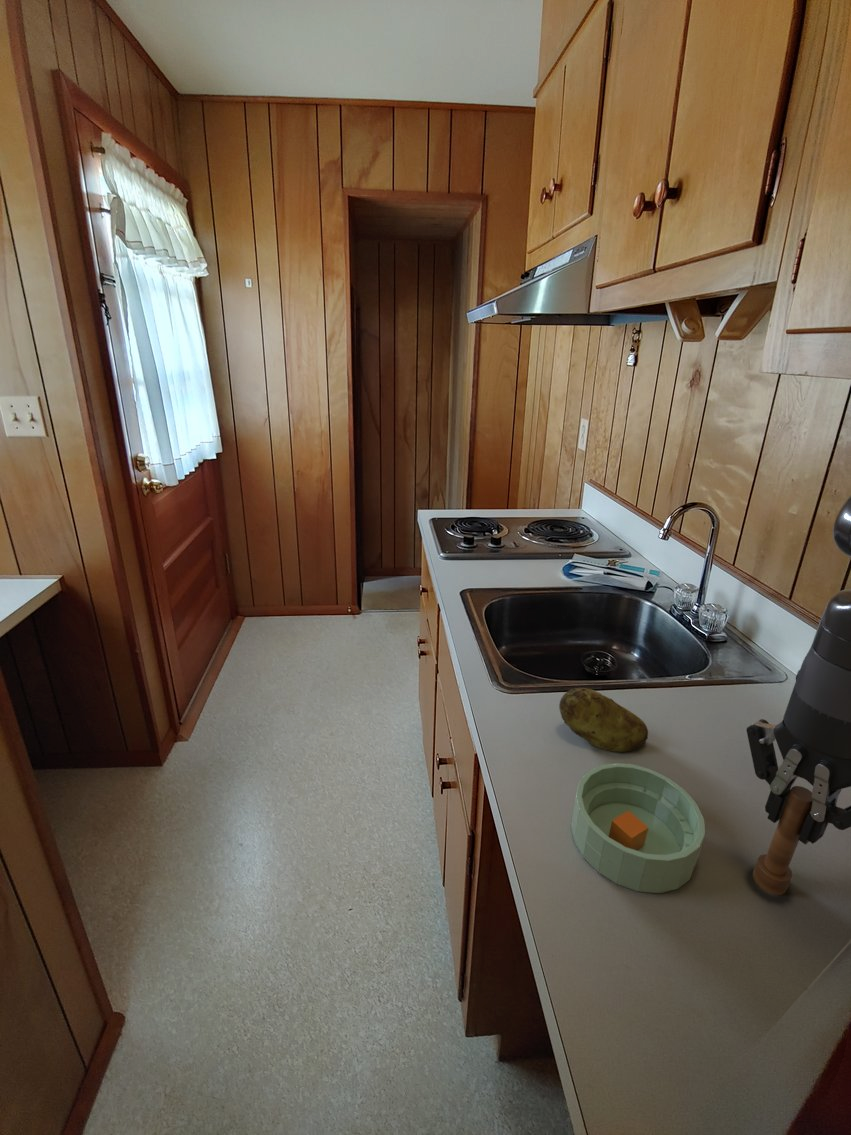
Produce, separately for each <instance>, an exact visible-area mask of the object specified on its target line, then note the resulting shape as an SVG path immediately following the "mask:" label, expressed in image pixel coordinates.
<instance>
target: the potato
mask: <svg viewBox="0 0 851 1135" xmlns="http://www.w3.org/2000/svg"><path fill="white" fill-rule="evenodd" d="M558 707H559V712H560V716H561V719H562V721H563V723H564V724H565V725H566V726H568V728H569V729H570V730H571V731H572V732H573V733H574V734H576V735H577V736H579V737H581V738H584V740H586V741H587V742H588V743H589V744H590V745H591V746H593V747H595V748H598V749H600V750H603V751H609V752H617V753H622V752H623V753H624V752H630V751H634V750H637V749H640V748H642V747H643V746H644V745H645V744H646V742H647V740H648V736H649V730H648V726H647V725H646V723H645V722H644V720H642V719H641V717H639V716H638V715H636V714H634V713H633V712H631V710H628V708H626V707H624V706H622V705H621V704H619V703H617V702H616V701H614V699H612V698H610V697H608V696H606V695H604V694H601V693H600V692H598V691H596V690H594V689H591V688H588V687H587V688H586V687H572V688H570V689H569V690H568V691H566V692H565V693H564V694H563V695H562V696H561V698H560V700H559V704H558Z"/></svg>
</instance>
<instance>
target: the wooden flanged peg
mask: <svg viewBox="0 0 851 1135" xmlns="http://www.w3.org/2000/svg"><path fill="white" fill-rule="evenodd" d="M811 796H812V791H811V790H810V789H809V788H806V787H804V786H801V785H794V786H791V790H790V793H789V796H788V798H787V801H786V804H785V806H784V809H783V812H782V814H781V817H780V819H779V820H778V821H777V825H776V828H775V830H774V833H773V835H772V839H771V841H770V844H769V847H768V849H767V851H766V853H764V854H761V855H759V856H758V858H757V860H756V863H755V865H754V868H753V871H752V878H753V880H754V882H755V884H756V885H757V886H758V887H759V888H760V889H761V890H763V891H765V892H766V893H768V894H771V895H775V896H782V895H784V894H785V893H786V892H787V890H788V888H789V885H790V883H791V880H792V878H793V871H792V869H791V867H790V864H791V862H792V859H793V857H794V854H795V851H796V849H797V847H798V845H799V842H800V841H799V840H798V838H799V835H800V833H801V830H802V828H803V825H804V823H805V820H806V818H807V815H809V814H810V813H811V808H812V803H813V799H812V798H811Z"/></svg>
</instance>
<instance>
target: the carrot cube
mask: <svg viewBox="0 0 851 1135" xmlns="http://www.w3.org/2000/svg"><path fill="white" fill-rule="evenodd" d="M647 832H648V827H647V826H646V825H645V824H644V823H643V822H641V821H640V820H639V819H638V818H637V817H636V816H634V815H633V814H632V813H631V812H630V811H627V812H625V813H623V814H622V815H620V816H618V817H617V818H615V819H613V820H612V823H611V828H610V832H609V838H611V839H613V840H615V841H616V842H618V843H620V844H621V845H623V846H625V847H627V848H630V849H633V850H638V849H639V848H641V847H642V846H644V844H645V840H646V836H647Z"/></svg>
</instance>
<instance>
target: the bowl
mask: <svg viewBox="0 0 851 1135" xmlns="http://www.w3.org/2000/svg"><path fill="white" fill-rule="evenodd" d="M627 811H630V812H631V813H632V814H633V815H634V816H636V817H637V818H638V819H639V820H640V821H641V822H643V823H644V824H645V825H646V826H647V827H648V832H647V836H646V840H645V844H644V846H642V847H641V848H639V849H638V850H633V849H630V848H627V847H625V846H623V845H621V844H620V843H618V842H616V841H615V840H613V839H611V838H609V832H610V828H611V823H612V820H613V819H615V818H617V817H618V816H620V815H622V814H623V813H625V812H627ZM705 822H706V821H705V818H704V816H703V813H702V811H701V810H700V807H699V806H698V804H697V802H696V801H695V800H694V798H692V796H691V795H690V794H689V793H688V792H687V791H686V790H685V789H684V788H682V787H681V786H680V785H679V784H677V783H676V782H675V781H674V780H672V779H671V778H669V777H667V776H666V775H663V774H661V773H659V772H657V771H655V770H653V769H651V768H648V767H644V766H641V765H636V764H632V763H623V762H622V763H620V762H619V763H618V762H614V763H613V762H612V763H607V764H602V765H601V764H600V765H598V766H596V767H594V768H593V769H590V770H589V771H587V772H586V773H585V774H584V775H583V777H582V778H581V779H580V780H579V781H578V785H577V789H576V794H575V800H574V805H573V811H572V817H571V822H570V823H571V824H570V827H571V832H572V838H573V842H574V844H575V846H576V847H577V849H578V851H579V853H580V855H581V856H582V857H583V859H584V860H585V861H586V862H587V863H588V864H589V865H590V866H591V867H592V868H593V869H594V870H595V871H596V872H597V873H599V874H600V875H602V876H603V877H605V878H606V879H608V880H610V881H611V882H613V883H614V884H616V885H618V886H620V887H624V888H627V889H629V890H633V891H635V892H639V893H652V894H662V893H666V892H671V891H675V890H678V889H680V888H681V887H682V886H683V885H684V884H686V883H687V882H688V881H690V880H691V878H692V875H693V873H694V871H695V869H696V867H697V863H698V860H699V856H700V853H701V850H702V847H703V844H704V842H705V841H704V840H705V837H706V823H705Z"/></svg>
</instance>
